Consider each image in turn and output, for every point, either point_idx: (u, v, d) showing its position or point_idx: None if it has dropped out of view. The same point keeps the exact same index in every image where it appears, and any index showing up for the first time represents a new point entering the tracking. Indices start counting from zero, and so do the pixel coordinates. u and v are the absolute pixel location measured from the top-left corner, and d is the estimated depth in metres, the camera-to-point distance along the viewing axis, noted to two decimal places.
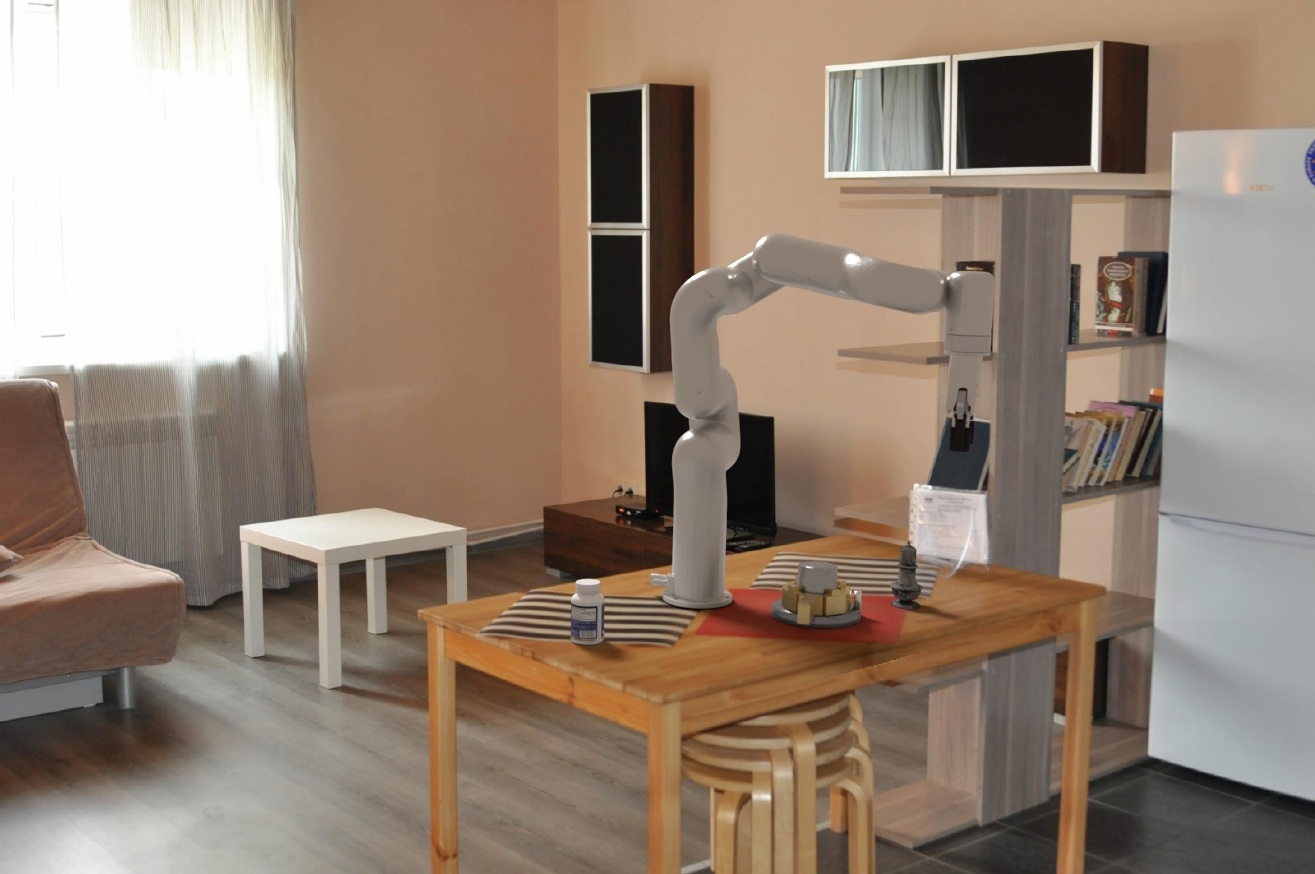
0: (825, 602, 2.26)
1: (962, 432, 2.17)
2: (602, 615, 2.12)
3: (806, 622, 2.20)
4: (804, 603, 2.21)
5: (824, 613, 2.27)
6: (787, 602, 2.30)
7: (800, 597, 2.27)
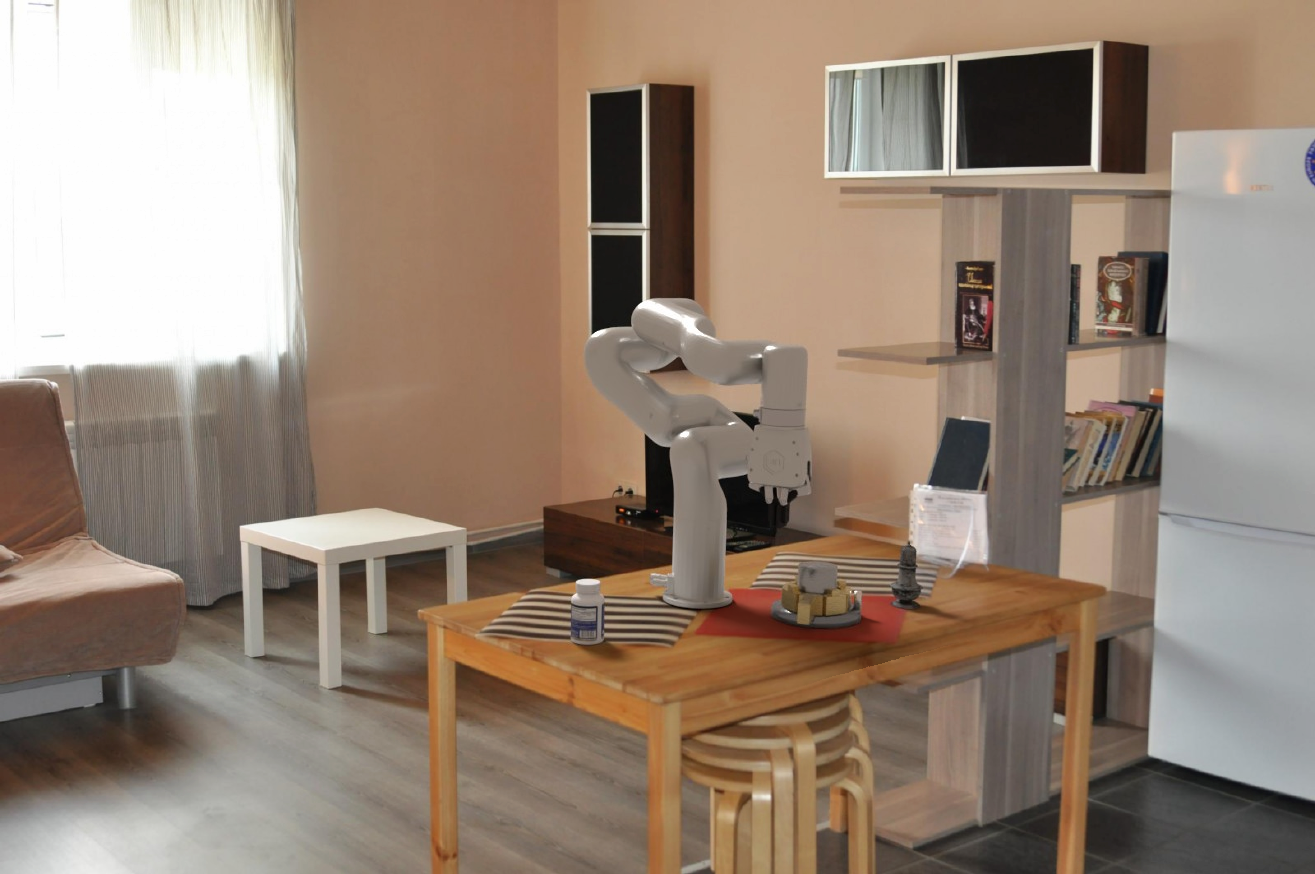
0: (825, 602, 2.26)
1: (788, 508, 2.23)
2: (602, 615, 2.12)
3: (806, 622, 2.20)
4: (804, 603, 2.21)
5: (824, 613, 2.27)
6: (787, 602, 2.30)
7: (800, 597, 2.27)
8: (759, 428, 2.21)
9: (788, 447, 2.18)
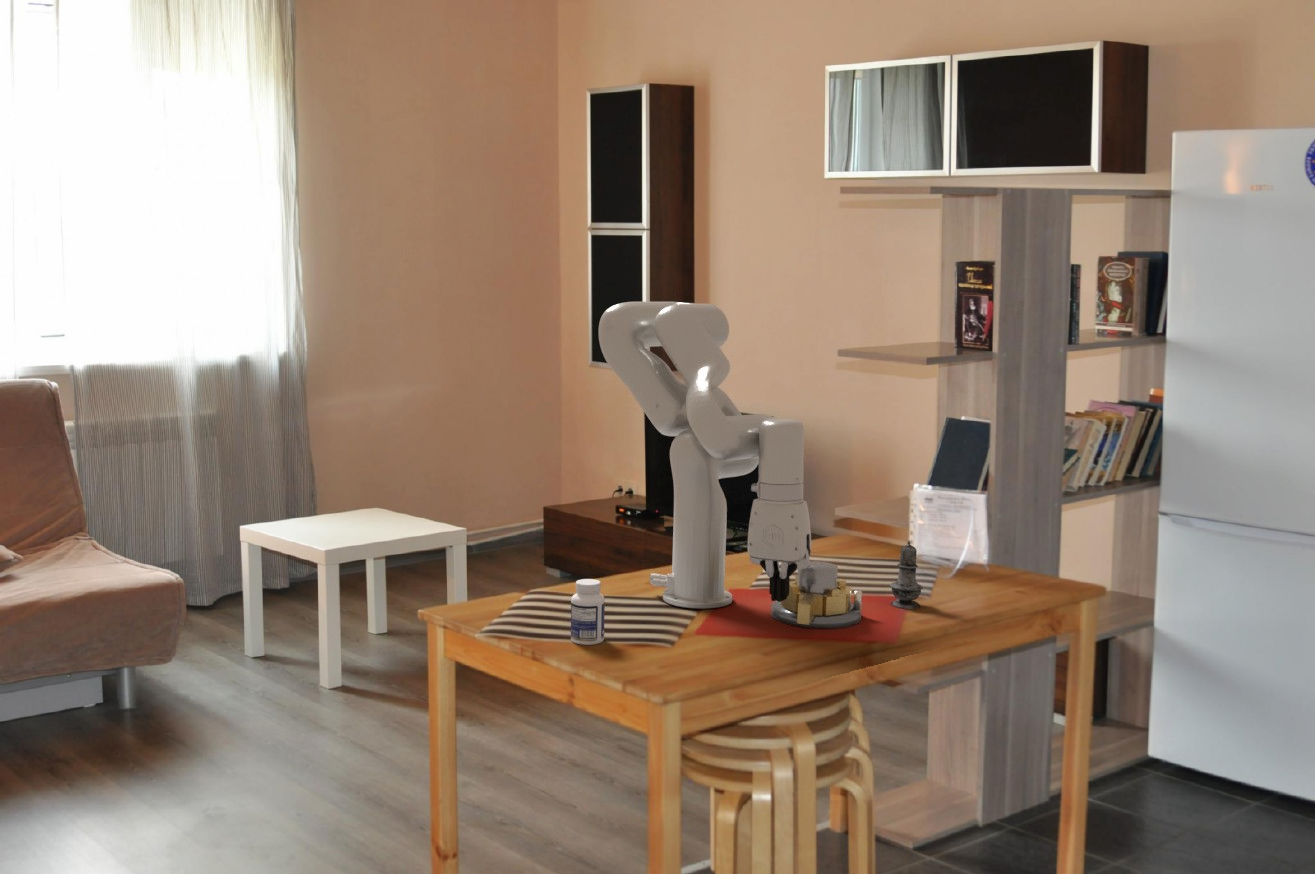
0: (825, 602, 2.26)
1: (788, 581, 2.24)
2: (602, 615, 2.12)
3: (806, 622, 2.20)
4: (804, 603, 2.21)
5: (824, 613, 2.27)
6: (787, 602, 2.30)
7: (800, 597, 2.27)
8: (758, 503, 2.22)
9: (787, 521, 2.20)
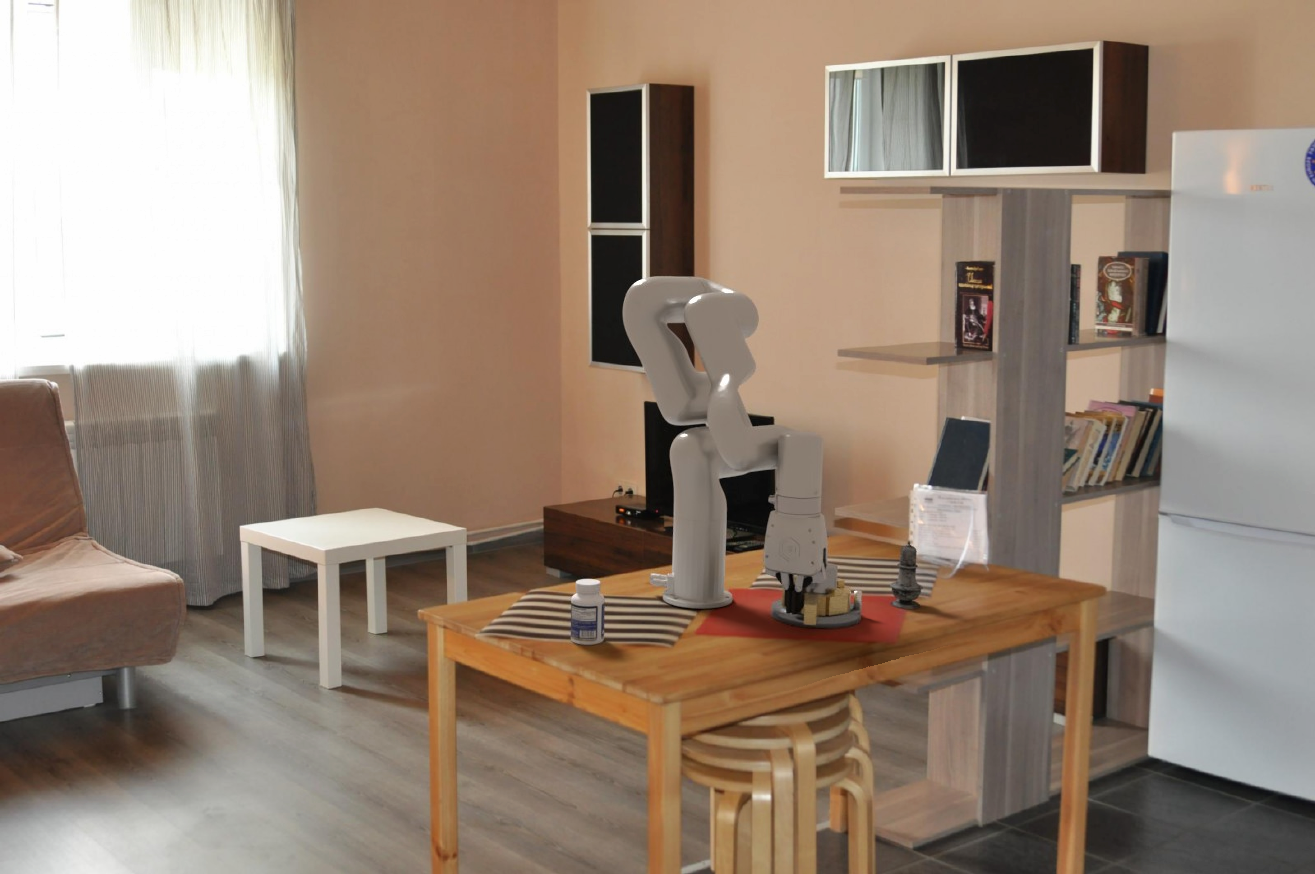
0: (828, 602, 2.26)
1: (803, 594, 2.23)
2: (602, 615, 2.12)
3: (813, 623, 2.20)
4: (810, 604, 2.20)
5: (827, 613, 2.27)
6: None
7: None
8: (775, 515, 2.21)
9: (804, 535, 2.19)
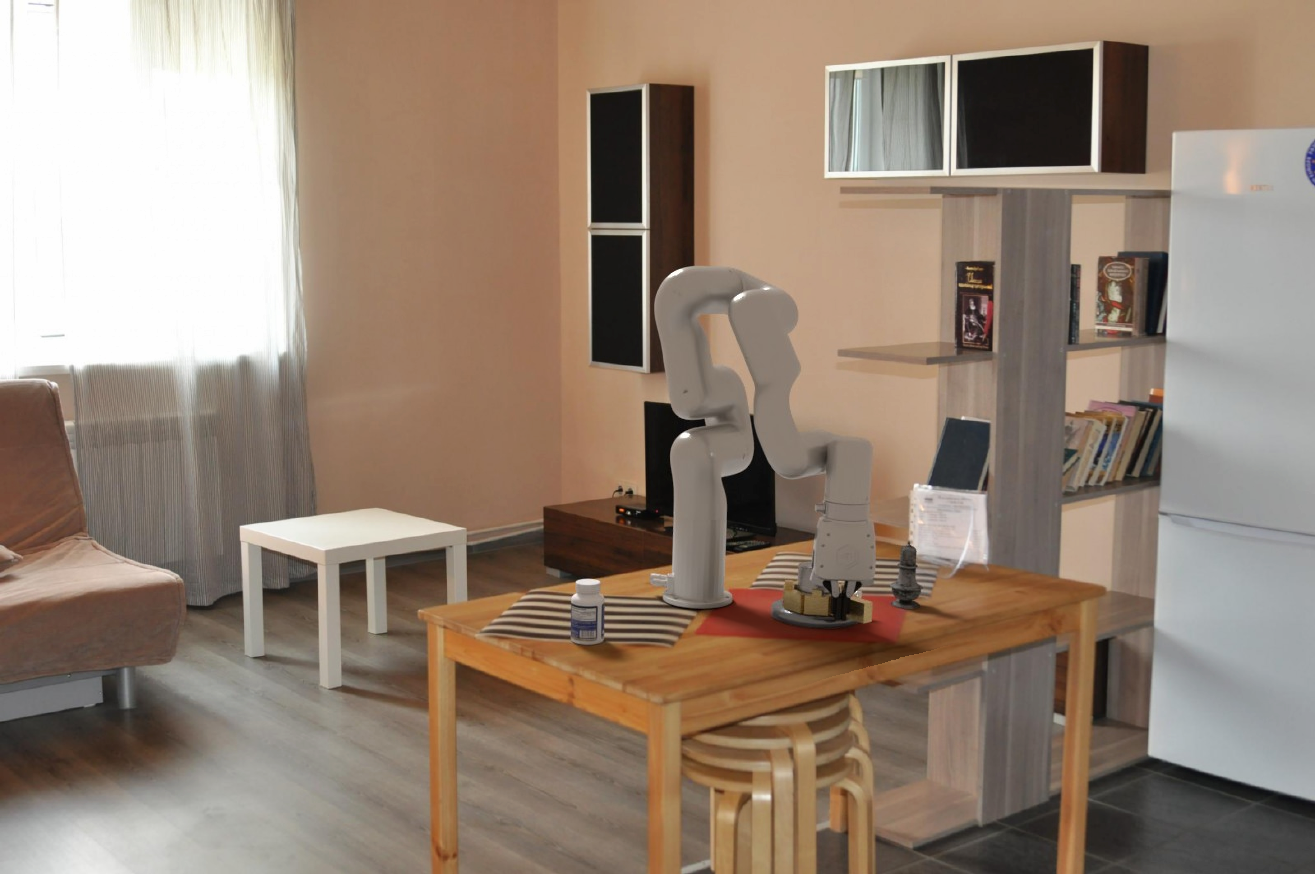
0: None
1: None
2: (602, 615, 2.12)
3: (869, 620, 2.23)
4: (866, 602, 2.23)
5: None
6: (813, 608, 2.26)
7: None
8: (830, 524, 2.18)
9: (862, 540, 2.19)
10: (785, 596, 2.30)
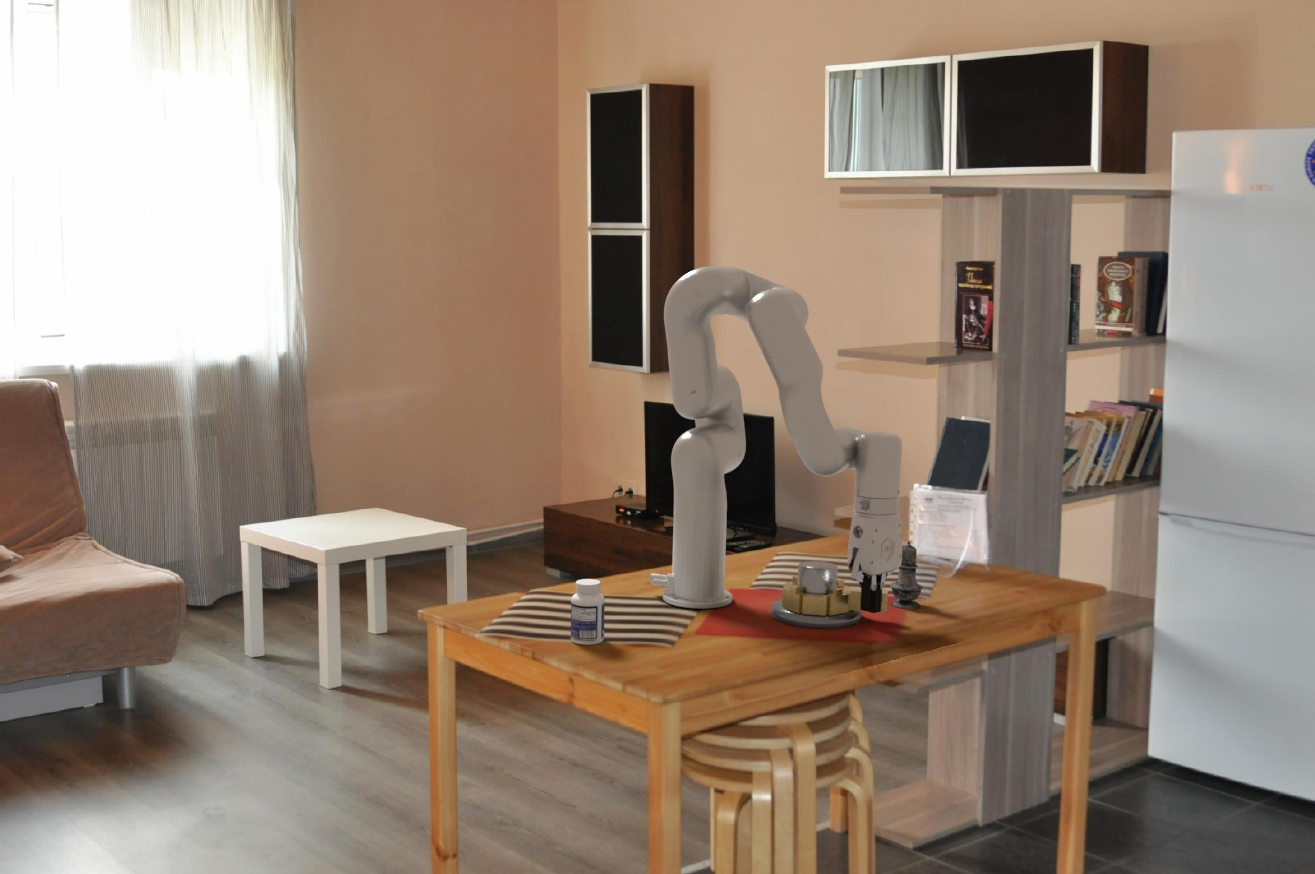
0: None
1: None
2: (602, 615, 2.12)
3: None
4: (884, 592, 2.30)
5: None
6: (837, 607, 2.27)
7: (850, 595, 2.29)
8: (876, 519, 2.21)
9: (896, 531, 2.25)
10: (804, 601, 2.27)
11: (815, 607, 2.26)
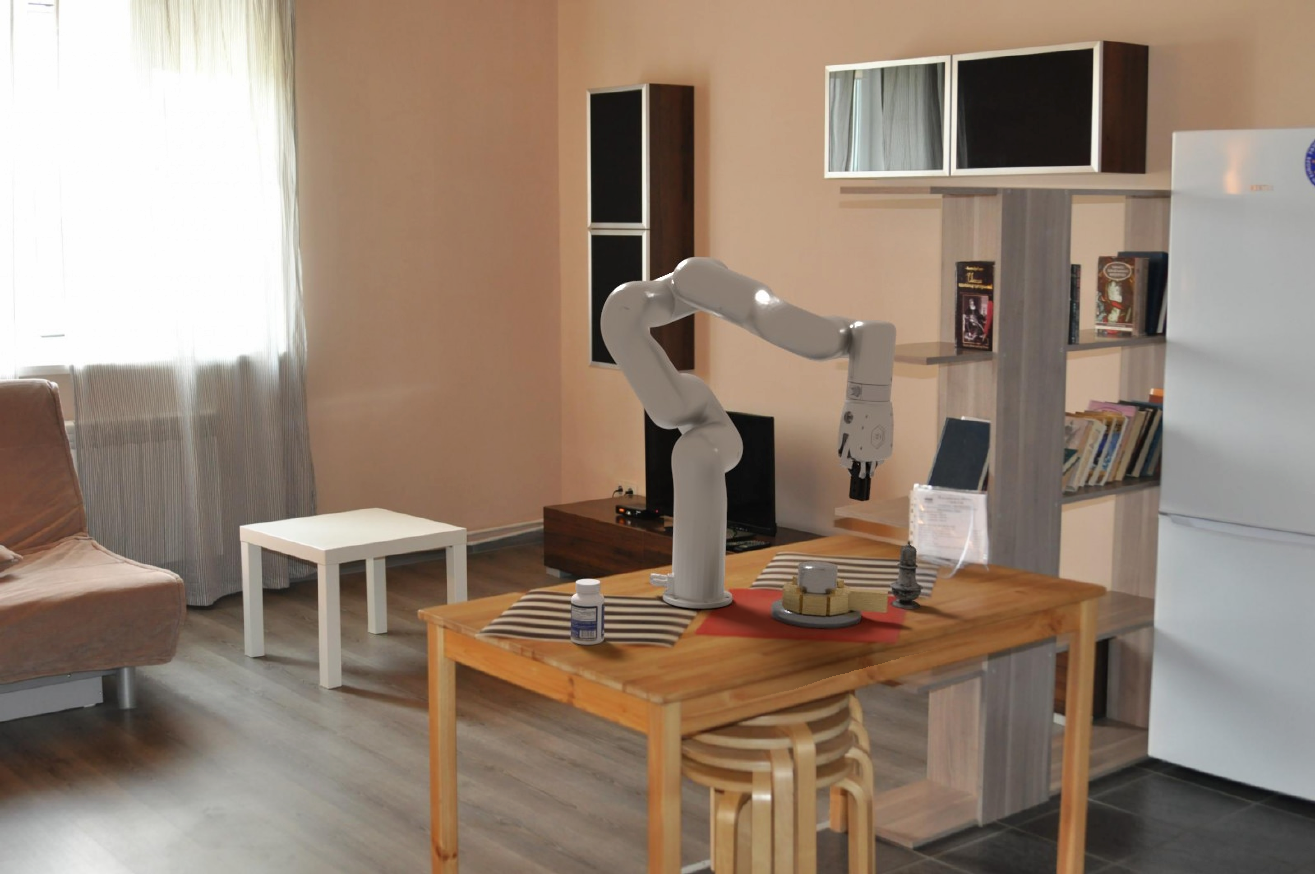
0: None
1: None
2: (602, 615, 2.12)
3: None
4: (884, 592, 2.30)
5: None
6: (837, 607, 2.27)
7: (850, 595, 2.29)
8: (867, 405, 2.21)
9: (887, 420, 2.25)
10: (804, 601, 2.27)
11: (815, 607, 2.26)
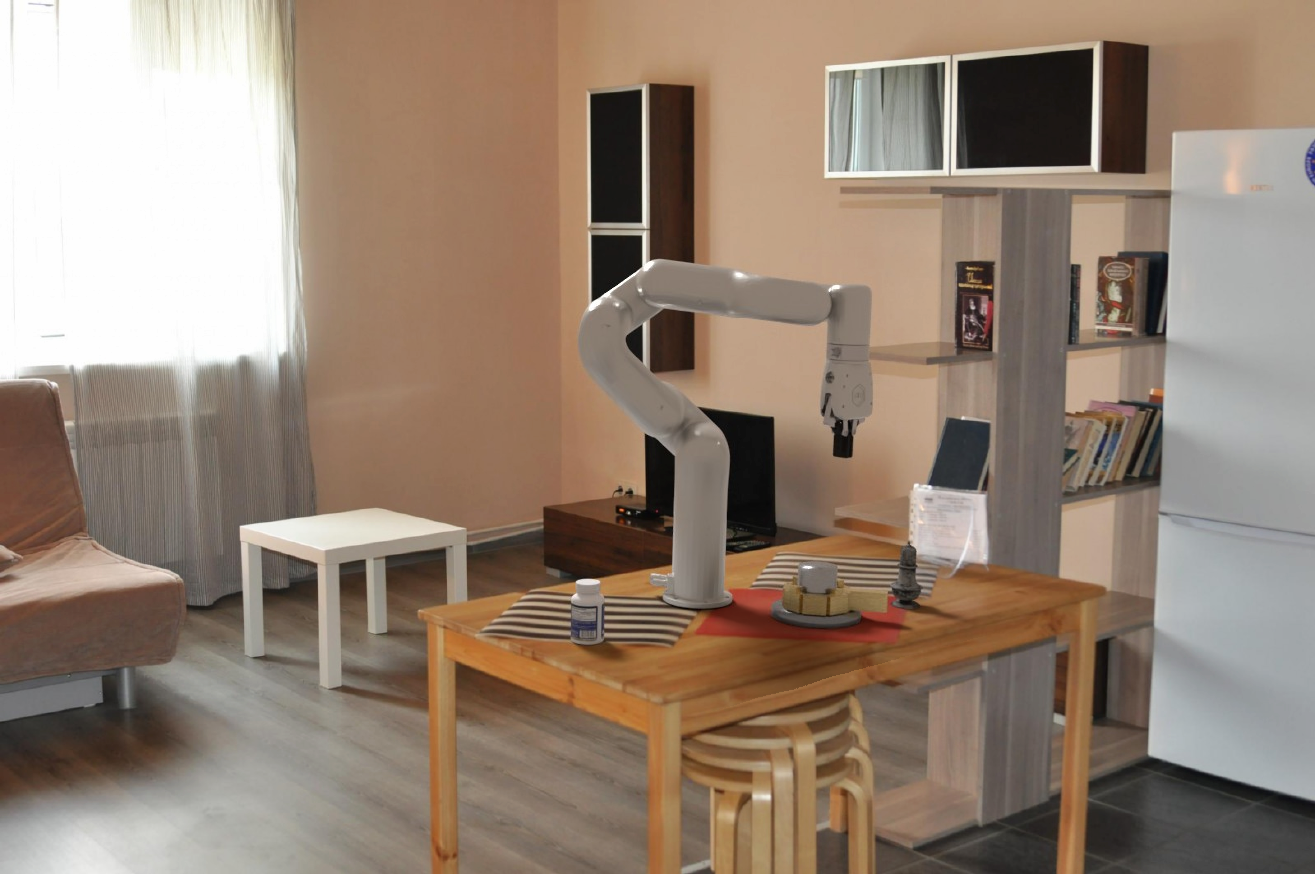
0: None
1: None
2: (602, 615, 2.12)
3: None
4: (884, 592, 2.30)
5: None
6: (837, 607, 2.27)
7: (850, 595, 2.29)
8: (847, 365, 2.30)
9: (867, 379, 2.35)
10: (804, 601, 2.27)
11: (815, 607, 2.26)
